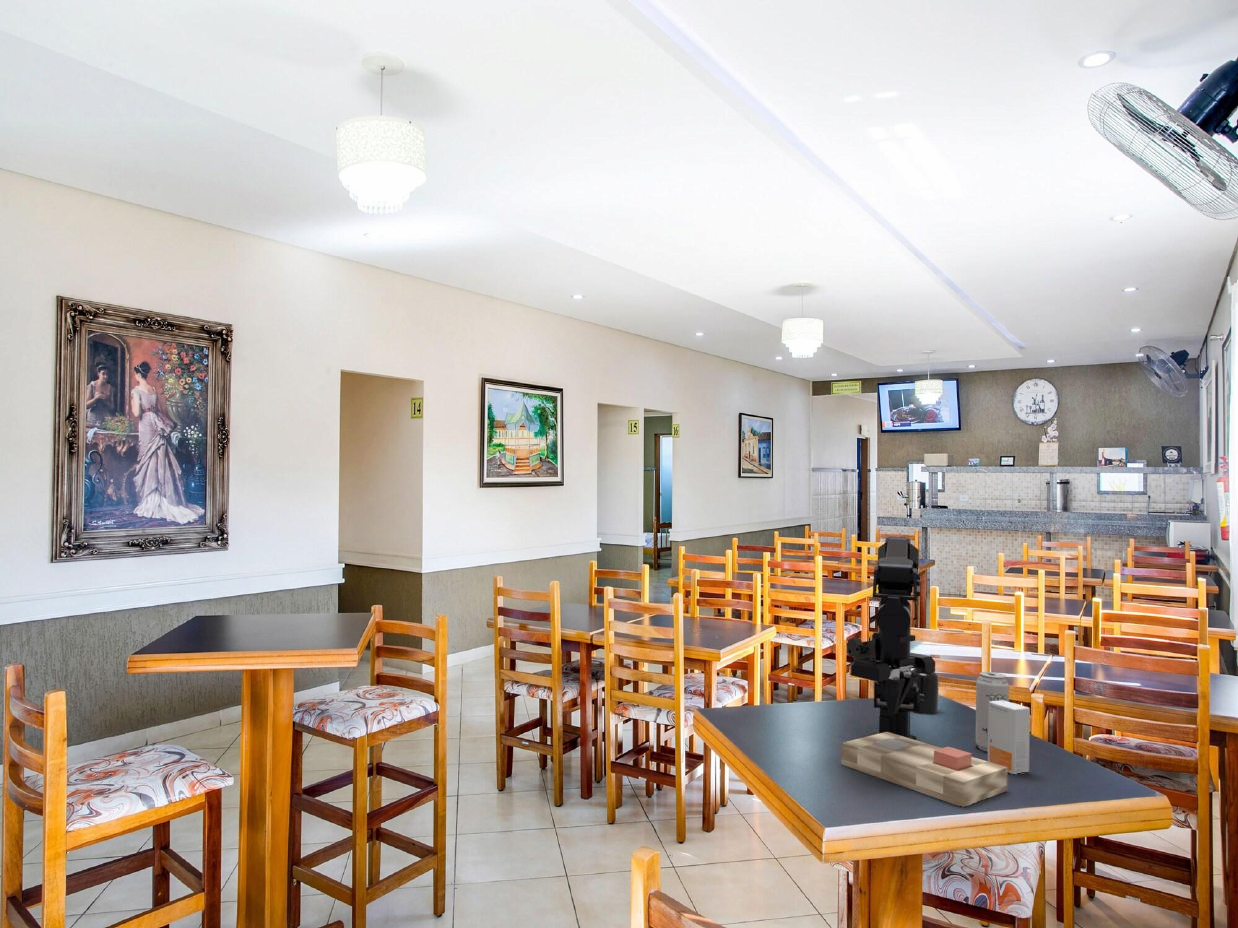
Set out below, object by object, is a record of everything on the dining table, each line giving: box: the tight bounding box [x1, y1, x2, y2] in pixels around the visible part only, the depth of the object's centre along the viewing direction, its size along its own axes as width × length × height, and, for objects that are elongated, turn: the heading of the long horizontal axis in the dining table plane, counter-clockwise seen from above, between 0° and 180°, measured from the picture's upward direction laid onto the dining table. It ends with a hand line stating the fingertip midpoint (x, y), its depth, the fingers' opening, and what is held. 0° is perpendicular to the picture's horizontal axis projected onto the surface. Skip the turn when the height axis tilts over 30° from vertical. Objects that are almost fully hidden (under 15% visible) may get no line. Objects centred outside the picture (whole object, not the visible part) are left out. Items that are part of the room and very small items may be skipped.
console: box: [840, 732, 1008, 808], centre depth 141 cm, size 14×24×4 cm, turn 36°
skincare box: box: [986, 700, 1031, 775], centre depth 148 cm, size 6×4×12 cm
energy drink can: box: [975, 671, 1010, 753], centre depth 160 cm, size 6×6×15 cm
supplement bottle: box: [910, 668, 940, 715], centre depth 189 cm, size 7×7×12 cm
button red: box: [934, 746, 973, 771], centre depth 137 cm, size 4×4×4 cm
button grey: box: [875, 738, 910, 751], centre depth 146 cm, size 4×4×4 cm
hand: (892, 713), depth 146 cm, fingers closed
